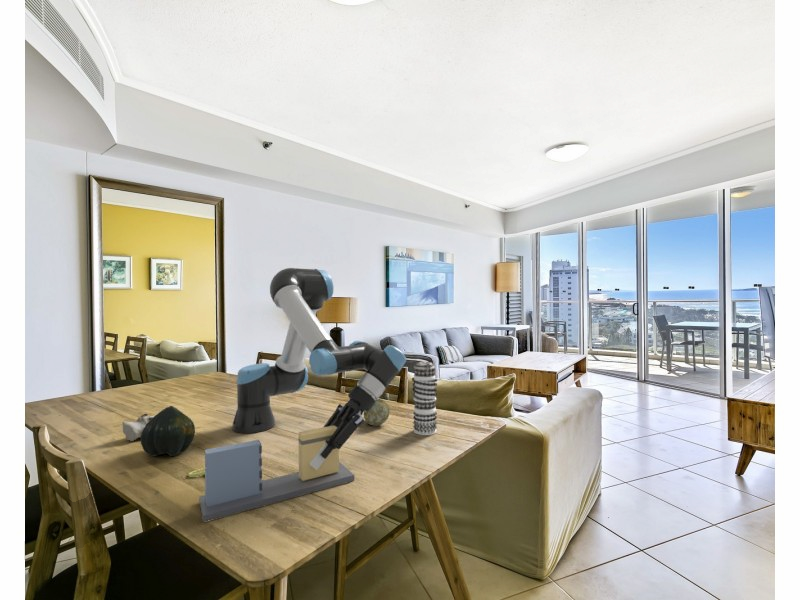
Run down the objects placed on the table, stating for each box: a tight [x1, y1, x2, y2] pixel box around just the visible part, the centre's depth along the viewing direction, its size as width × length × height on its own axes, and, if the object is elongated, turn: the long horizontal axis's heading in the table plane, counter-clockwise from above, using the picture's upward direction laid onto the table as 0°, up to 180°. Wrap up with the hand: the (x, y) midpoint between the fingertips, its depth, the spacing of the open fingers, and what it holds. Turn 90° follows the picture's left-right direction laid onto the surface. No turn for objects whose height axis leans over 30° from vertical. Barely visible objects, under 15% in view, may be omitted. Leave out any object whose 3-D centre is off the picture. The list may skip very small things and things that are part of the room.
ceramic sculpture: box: [121, 413, 155, 442], centre depth 139 cm, size 11×9×15 cm
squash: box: [140, 405, 196, 457], centre depth 124 cm, size 14×15×15 cm
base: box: [198, 461, 355, 523], centre depth 98 cm, size 36×10×2 cm, turn 122°
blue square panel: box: [204, 439, 263, 507], centre depth 92 cm, size 12×3×12 cm, turn 122°
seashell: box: [363, 398, 391, 426], centre depth 151 cm, size 11×11×10 cm
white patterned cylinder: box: [411, 361, 438, 436], centre depth 141 cm, size 9×9×25 cm
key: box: [187, 466, 205, 477], centre depth 108 cm, size 7×12×2 cm, turn 73°
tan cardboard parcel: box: [297, 425, 340, 481], centre depth 103 cm, size 10×3×12 cm, turn 122°
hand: (310, 464), depth 102 cm, fingers closed on tan cardboard parcel, 3 cm apart
